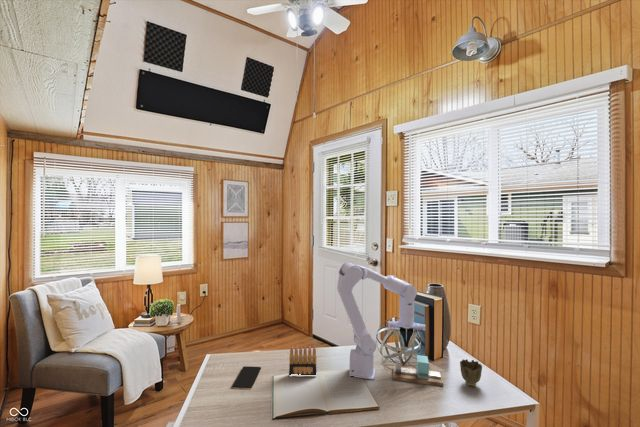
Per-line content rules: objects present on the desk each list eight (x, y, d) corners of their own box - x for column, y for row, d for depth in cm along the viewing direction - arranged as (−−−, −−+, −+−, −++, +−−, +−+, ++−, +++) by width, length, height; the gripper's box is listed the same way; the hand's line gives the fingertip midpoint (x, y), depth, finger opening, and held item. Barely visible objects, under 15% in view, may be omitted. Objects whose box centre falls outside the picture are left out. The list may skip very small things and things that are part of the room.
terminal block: (417, 378, 118) (417, 362, 118) (416, 370, 124) (416, 355, 124) (428, 380, 117) (429, 364, 117) (427, 371, 123) (427, 356, 123)
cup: (460, 388, 114) (460, 366, 114) (459, 378, 121) (459, 357, 121) (483, 392, 111) (483, 370, 111) (480, 382, 118) (480, 360, 118)
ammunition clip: (288, 377, 121) (289, 346, 121) (289, 374, 122) (289, 344, 122) (316, 377, 121) (316, 346, 121) (316, 374, 123) (316, 344, 123)
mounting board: (393, 379, 120) (393, 376, 120) (393, 368, 128) (393, 365, 128) (443, 386, 115) (443, 382, 115) (440, 374, 124) (440, 371, 124)
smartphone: (231, 386, 112) (243, 366, 127) (231, 389, 112) (243, 368, 127) (251, 387, 112) (261, 366, 127) (251, 390, 112) (261, 369, 127)
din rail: (394, 373, 121) (394, 369, 121) (394, 367, 126) (394, 363, 126) (441, 379, 117) (441, 375, 117) (439, 373, 122) (439, 368, 122)
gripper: (388, 314, 125) (387, 348, 125) (426, 317, 122) (425, 352, 122) (388, 308, 132) (388, 341, 132) (424, 311, 129) (424, 345, 129)
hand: (406, 346), depth 128 cm, fingers closed
